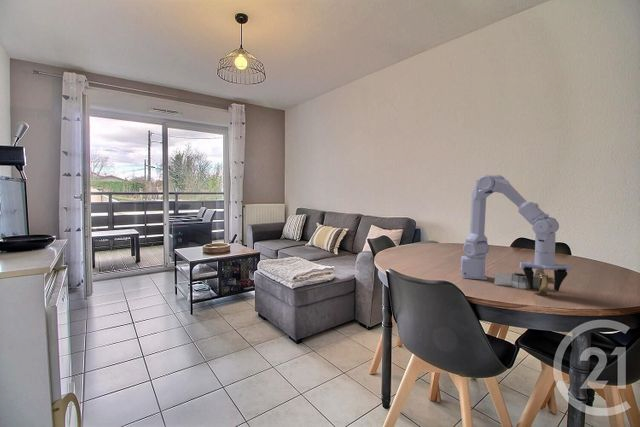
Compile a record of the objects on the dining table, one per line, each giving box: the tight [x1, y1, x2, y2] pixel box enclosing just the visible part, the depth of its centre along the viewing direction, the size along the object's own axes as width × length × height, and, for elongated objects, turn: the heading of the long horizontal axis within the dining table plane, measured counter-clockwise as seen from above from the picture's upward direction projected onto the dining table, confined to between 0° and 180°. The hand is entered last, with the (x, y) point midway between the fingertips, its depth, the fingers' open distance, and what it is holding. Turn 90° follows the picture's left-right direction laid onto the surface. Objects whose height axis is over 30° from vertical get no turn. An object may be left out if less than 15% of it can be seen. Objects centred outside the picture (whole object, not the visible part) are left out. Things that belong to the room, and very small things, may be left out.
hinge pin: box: [538, 273, 549, 296], centre depth 108 cm, size 2×2×7 cm
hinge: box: [493, 272, 540, 290], centre depth 116 cm, size 17×6×4 cm, turn 69°
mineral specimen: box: [521, 268, 546, 276], centre depth 128 cm, size 13×7×6 cm, turn 172°
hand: (543, 289), depth 108 cm, fingers open, 7 cm apart
